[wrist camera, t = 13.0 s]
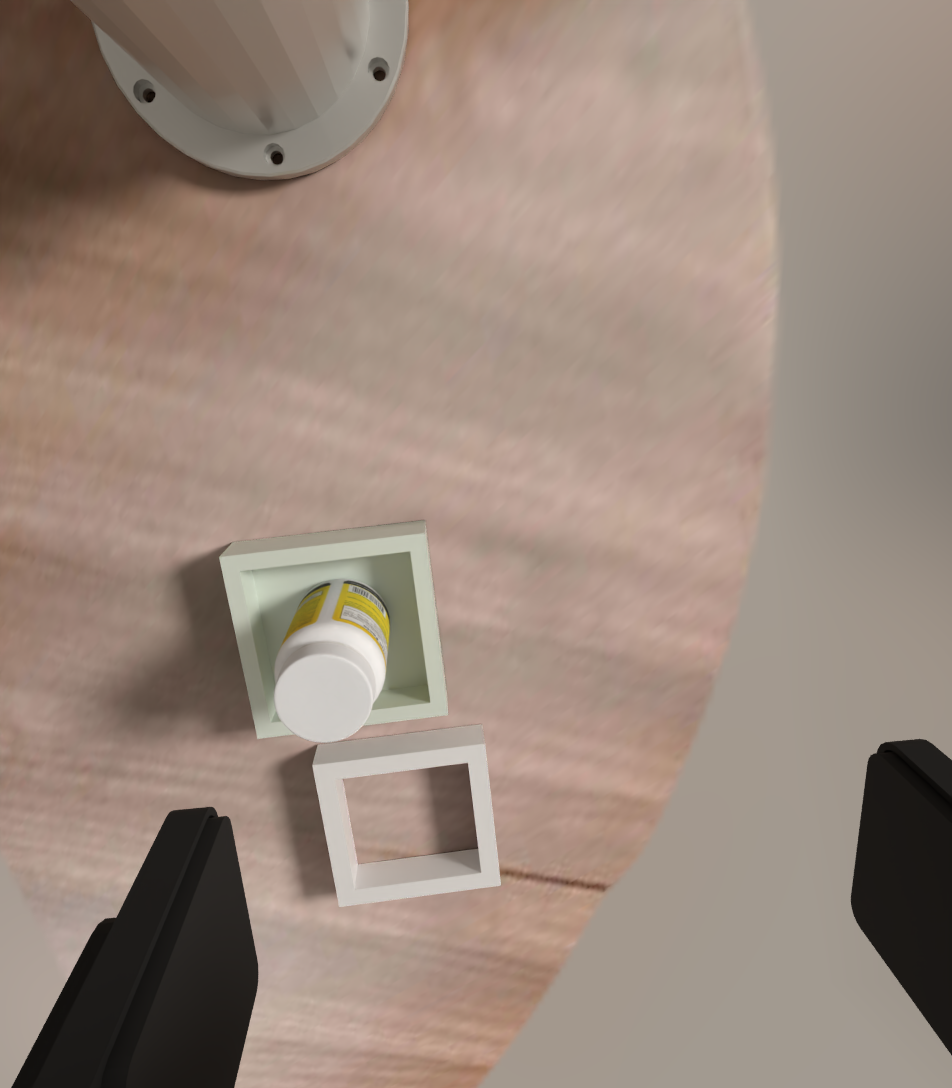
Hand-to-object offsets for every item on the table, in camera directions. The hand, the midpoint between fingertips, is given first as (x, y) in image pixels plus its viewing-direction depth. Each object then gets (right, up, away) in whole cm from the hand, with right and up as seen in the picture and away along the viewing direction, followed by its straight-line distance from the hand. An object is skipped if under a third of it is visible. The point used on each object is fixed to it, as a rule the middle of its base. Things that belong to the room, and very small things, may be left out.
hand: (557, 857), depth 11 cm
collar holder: (-5, -10, +31) cm, 33 cm away
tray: (-8, +1, +27) cm, 28 cm away
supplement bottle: (-8, +1, +27) cm, 28 cm away
